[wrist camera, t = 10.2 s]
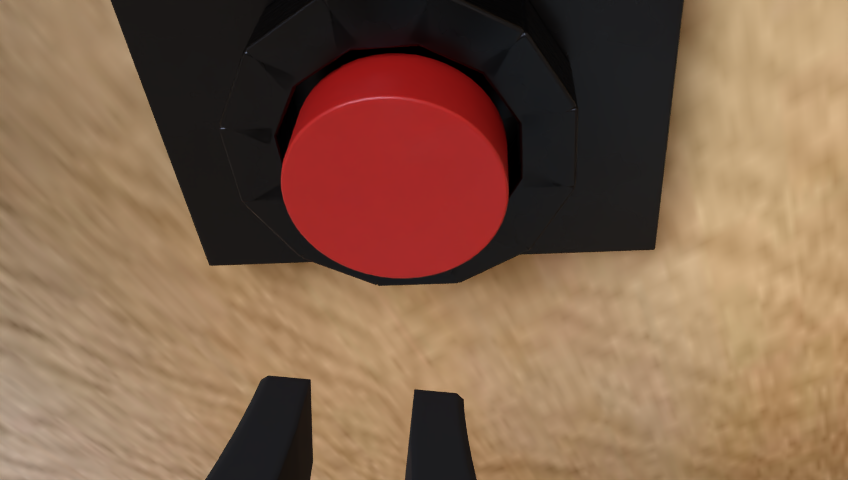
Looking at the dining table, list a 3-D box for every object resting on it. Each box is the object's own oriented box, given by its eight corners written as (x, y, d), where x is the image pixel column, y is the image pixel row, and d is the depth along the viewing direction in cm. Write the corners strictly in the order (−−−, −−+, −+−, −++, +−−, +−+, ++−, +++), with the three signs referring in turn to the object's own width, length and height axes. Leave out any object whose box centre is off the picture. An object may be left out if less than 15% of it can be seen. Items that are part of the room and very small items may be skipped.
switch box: (224, 227, 23) (190, 313, 21) (116, -89, 17) (50, -25, 15) (645, 209, 22) (667, 299, 19) (680, -139, 16) (718, -78, 13)
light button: (317, 232, 19) (305, 283, 18) (274, 58, 16) (255, 104, 15) (510, 224, 19) (512, 276, 17) (503, 43, 16) (504, 89, 14)
